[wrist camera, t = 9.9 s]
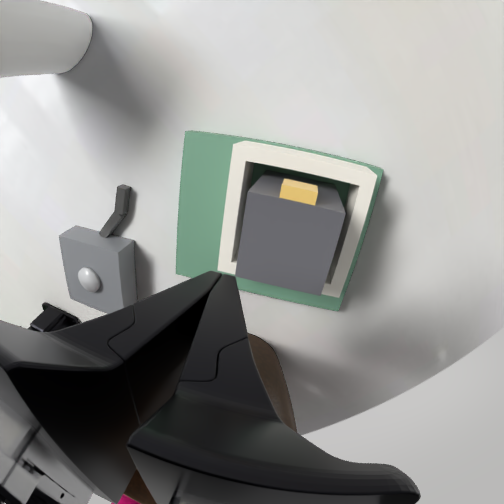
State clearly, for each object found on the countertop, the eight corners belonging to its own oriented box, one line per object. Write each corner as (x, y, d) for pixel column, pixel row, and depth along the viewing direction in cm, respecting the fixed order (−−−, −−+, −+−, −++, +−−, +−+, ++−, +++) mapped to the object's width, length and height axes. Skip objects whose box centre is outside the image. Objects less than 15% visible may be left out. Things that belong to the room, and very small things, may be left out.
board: (337, 304, 22) (340, 337, 19) (180, 267, 24) (159, 293, 20) (379, 167, 17) (396, 179, 14) (191, 130, 19) (164, 134, 15)
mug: (108, 22, 16) (-9, -2, 5) (69, 87, 18) (-47, 101, 8) (56, -4, 14) (-36, -17, 3) (25, 51, 17) (-67, 58, 6)
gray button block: (137, 305, 27) (123, 322, 24) (84, 286, 27) (68, 300, 25) (133, 186, 21) (112, 195, 19) (72, 177, 22) (50, 185, 20)
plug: (318, 246, 20) (320, 295, 14) (255, 232, 20) (234, 276, 15) (337, 175, 17) (349, 200, 12) (268, 160, 18) (249, 178, 12)
